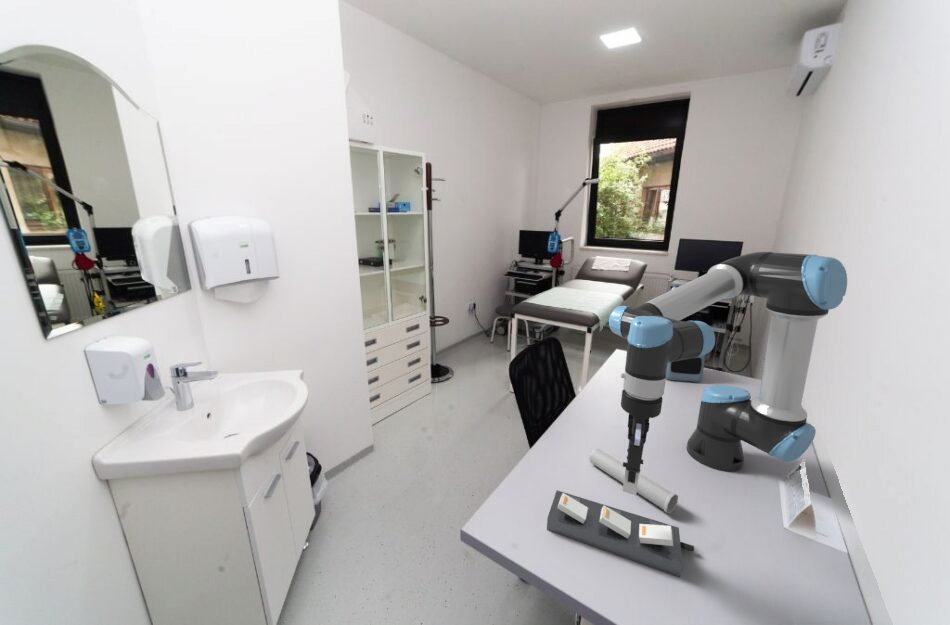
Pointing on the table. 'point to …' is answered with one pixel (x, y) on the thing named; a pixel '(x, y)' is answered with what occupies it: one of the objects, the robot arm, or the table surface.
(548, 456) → the table surface
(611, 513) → the block
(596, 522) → the power strip
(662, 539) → the block
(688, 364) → the alarm clock
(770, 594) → the table surface
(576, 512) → the block
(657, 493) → the tube
